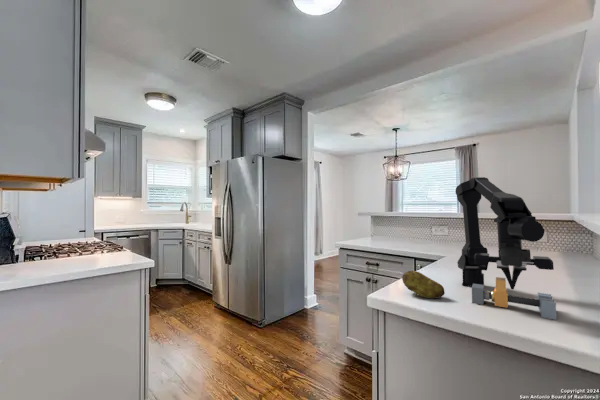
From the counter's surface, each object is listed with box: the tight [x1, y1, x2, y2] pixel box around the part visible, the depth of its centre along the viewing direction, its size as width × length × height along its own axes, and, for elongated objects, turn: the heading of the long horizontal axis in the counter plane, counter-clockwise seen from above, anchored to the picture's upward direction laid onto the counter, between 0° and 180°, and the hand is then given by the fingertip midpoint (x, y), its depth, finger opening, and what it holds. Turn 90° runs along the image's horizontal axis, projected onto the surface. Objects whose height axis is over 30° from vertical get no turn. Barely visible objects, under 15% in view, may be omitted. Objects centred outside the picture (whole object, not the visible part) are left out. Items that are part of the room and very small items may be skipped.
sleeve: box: [493, 276, 509, 308], centre depth 85 cm, size 3×4×8 cm
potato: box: [401, 270, 446, 299], centre depth 95 cm, size 8×13×8 cm, turn 38°
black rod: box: [489, 291, 540, 308], centre depth 84 cm, size 14×2×2 cm, turn 54°
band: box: [490, 290, 495, 303], centre depth 86 cm, size 1×3×3 cm, turn 144°
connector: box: [471, 284, 490, 306], centre depth 88 cm, size 4×5×5 cm
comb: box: [537, 291, 557, 321], centre depth 79 cm, size 3×9×4 cm, turn 144°
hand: (512, 289), depth 83 cm, fingers closed
